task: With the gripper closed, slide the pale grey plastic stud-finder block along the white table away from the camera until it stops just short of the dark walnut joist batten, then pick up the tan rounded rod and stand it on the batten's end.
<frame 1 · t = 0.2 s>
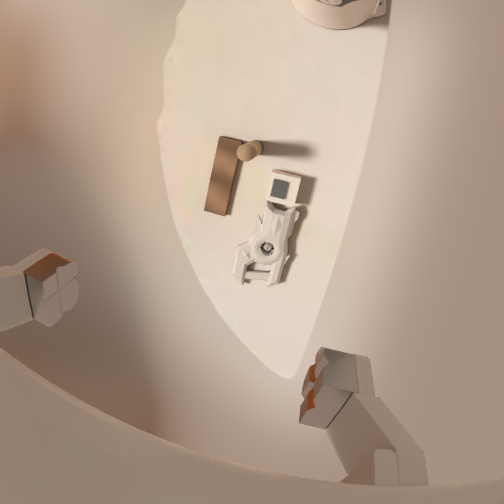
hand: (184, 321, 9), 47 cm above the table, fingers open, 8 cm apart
joist batten: (223, 176, 55), on the table
tan rounded rod: (256, 147, 52), on the table
gun: (265, 243, 60), on the table
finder: (284, 186, 54), on the table
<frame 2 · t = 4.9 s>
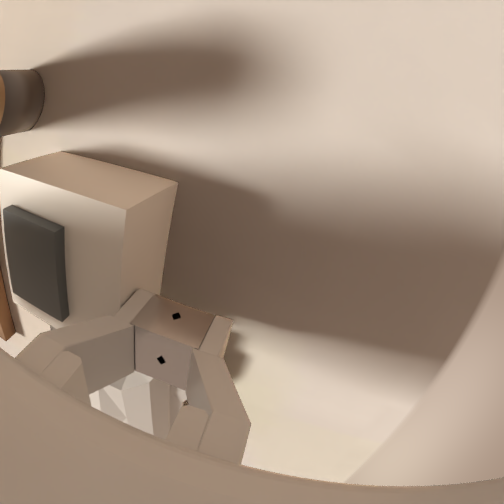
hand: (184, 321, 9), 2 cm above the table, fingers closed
tan rounded rod: (24, 100, 9), on the table
gun: (122, 407, 16), on the table
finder: (105, 231, 10), on the table, touching gripper
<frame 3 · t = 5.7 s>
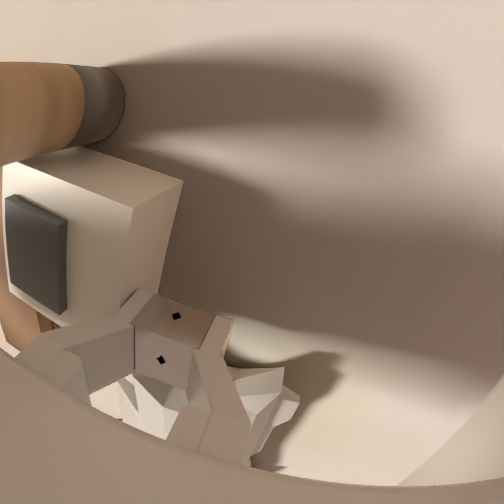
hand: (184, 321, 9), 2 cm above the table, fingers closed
joist batten: (16, 241, 12), on the table
tan rounded rod: (93, 105, 9), on the table
gun: (180, 430, 16), on the table
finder: (106, 225, 10), on the table, touching gripper
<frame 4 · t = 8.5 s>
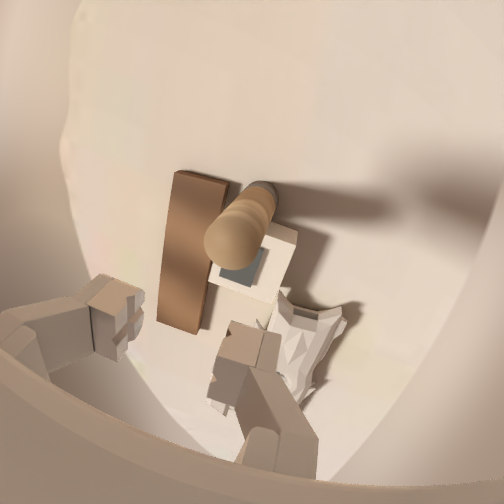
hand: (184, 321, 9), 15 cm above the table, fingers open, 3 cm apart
joist batten: (189, 257, 26), on the table
tan rounded rod: (260, 198, 23), on the table
gun: (268, 360, 30), on the table
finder: (256, 247, 25), on the table
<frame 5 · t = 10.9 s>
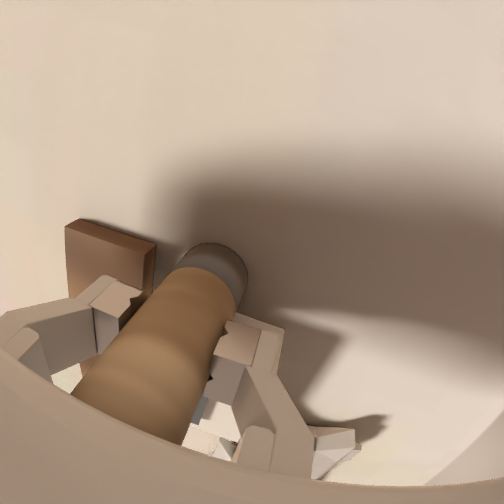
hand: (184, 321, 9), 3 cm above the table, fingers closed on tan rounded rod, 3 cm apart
joist batten: (115, 350, 15), on the table
tan rounded rod: (214, 274, 12), on the table, touching gripper
gun: (244, 461, 19), on the table
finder: (214, 346, 14), on the table
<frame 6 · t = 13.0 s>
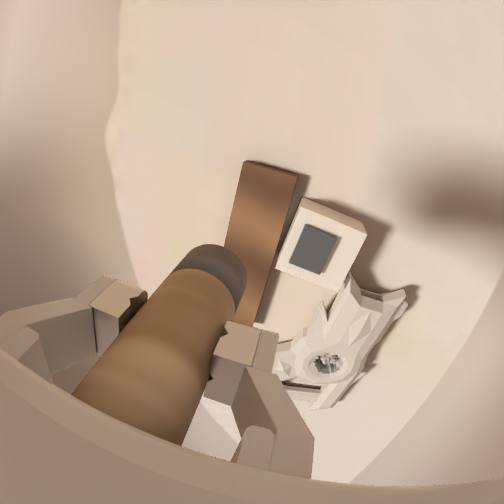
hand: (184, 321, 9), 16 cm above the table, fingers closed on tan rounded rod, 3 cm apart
joist batten: (250, 250, 26), on the table
tan rounded rod: (213, 275, 12), point 13 cm above the table, touching gripper
gun: (320, 344, 29), on the table
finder: (320, 236, 24), on the table
when the fingers open (5 cm above the table, at t = 15.1 s): tan rounded rod stays where it is, resting on joist batten.
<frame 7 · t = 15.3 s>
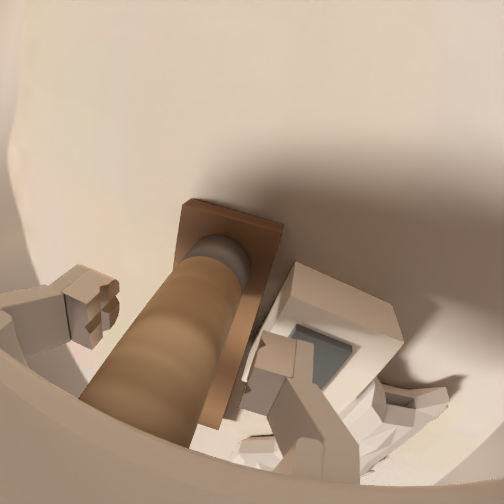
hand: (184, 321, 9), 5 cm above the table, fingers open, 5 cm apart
joist batten: (208, 337, 16), on the table
tan rounded rod: (218, 264, 13), point 1 cm above the table, touching joist batten
gun: (316, 438, 19), on the table
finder: (320, 322, 15), on the table
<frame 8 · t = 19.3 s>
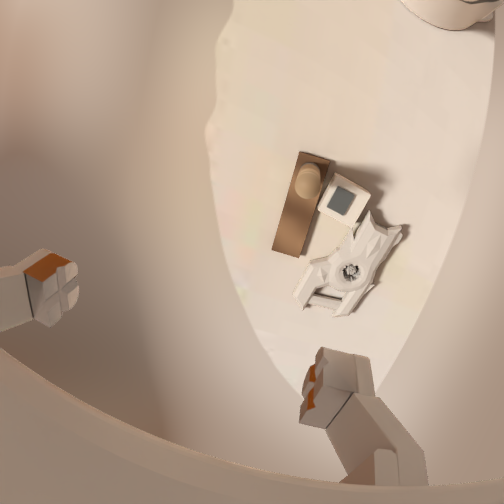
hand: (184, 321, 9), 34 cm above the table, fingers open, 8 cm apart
joist batten: (299, 205, 42), on the table
tan rounded rod: (309, 171, 39), point 1 cm above the table, touching joist batten
gun: (344, 263, 44), on the table
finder: (342, 197, 40), on the table
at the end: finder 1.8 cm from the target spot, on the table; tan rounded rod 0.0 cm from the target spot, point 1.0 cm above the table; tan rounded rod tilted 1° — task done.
